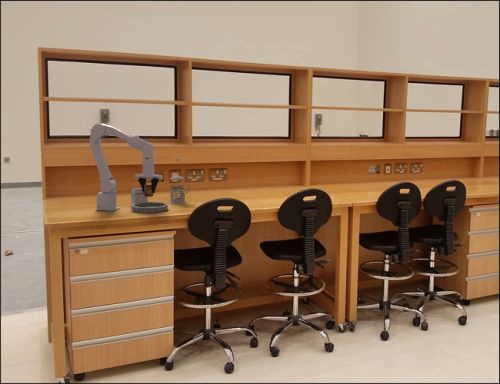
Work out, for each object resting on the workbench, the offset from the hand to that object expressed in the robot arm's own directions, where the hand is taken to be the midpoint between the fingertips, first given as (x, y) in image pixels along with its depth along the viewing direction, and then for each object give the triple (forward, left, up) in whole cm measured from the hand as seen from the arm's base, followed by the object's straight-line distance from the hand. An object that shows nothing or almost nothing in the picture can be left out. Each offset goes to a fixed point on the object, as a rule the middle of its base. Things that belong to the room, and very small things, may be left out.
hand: (148, 192), depth 252 cm
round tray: (0, 0, -9) cm, 9 cm away
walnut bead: (0, 0, -2) cm, 2 cm away
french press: (+7, +25, -9) cm, 28 cm away
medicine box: (-12, +14, -9) cm, 21 cm away
